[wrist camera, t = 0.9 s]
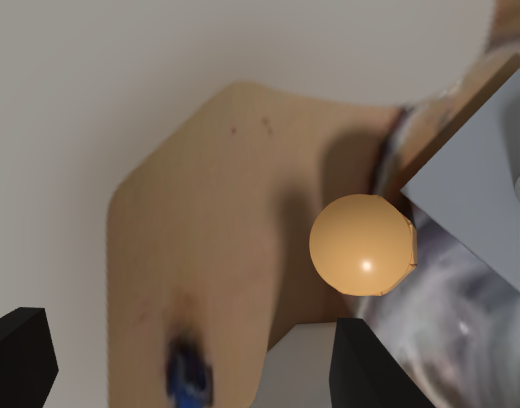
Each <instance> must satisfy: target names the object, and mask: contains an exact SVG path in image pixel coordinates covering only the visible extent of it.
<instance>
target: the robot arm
mask: <svg viewBox="0 0 520 408" xmlns="http://www.w3.org/2000/svg"><path fill="white" fill-rule="evenodd" d="M58 371H59V369H58V365H57V361H56V356H55V352H54V348H53V343H52V339H51V335H50V330H49V326H48V321H47V318H46V313H45V308H29V307H28V308H27V307H19V308H17V309H15V310H14V311H12V312H10V313H8V314H6V315H5V316H3V317H2V318H0V408H42V407H43V405H44V403H45V401H46V399H47V396H48V395H49V392H50V390H51V388H52V385H53V383H54V380H55V378H56V376H57V374H58ZM329 388H330V396H331V404H332V408H436V407H435V406H434V405H433V404H432V403H431V402H430V400H429V399H428V398H427V397H426V396H425V395H424V394H423V392H422V391H421V390H420V389H419V388H418V387H417V386H416V384H415V383H414V382H413V381H412V380H411V379H410V377H409V376H408V375H407V374H406V373H405V372H404V370H403V369H402V368H401V367H400V365H399V364H398V363H397V362H396V361H395V359H394V358H393V357H392V356H391V354H390V353H389V352H388V351H387V349H386V348H385V347H384V346H383V344H382V343H381V342H380V340H379V339H378V338H377V337H376V335H375V334H374V333H373V331H372V330H371V329H370V328H369V326H368V325H367V324H366V322H365V321H364V320H363V319H359V318H337V323H336V330H335V337H334V344H333V351H332V358H331V365H330V372H329Z"/></svg>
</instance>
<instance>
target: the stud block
mask: <svg viewBox="0 0 520 408" xmlns="http://www.w3.org/2000/svg"><path fill="white" fill-rule="evenodd" d="M400 191H401V193H402V194H403V195H404V196H405V197H407V198H408V199H409V200H410V201H411V202H412V203H414V204H415V205H416V206H417V207H418V208H420V209H421V210H422V211H423V212H424V213H426V214H427V215H428V216H429V217H430V218H431V219H433V220H434V221H435V222H436V223H437V224H439V225H440V226H441V227H442V228H443V229H445V230H446V231H447V232H448V233H449V234H450V235H452V236H453V237H454V238H455V239H456V240H458V241H459V242H460V243H461V244H462V245H464V246H465V247H466V248H467V249H468V250H469V251H471V252H472V253H473V254H474V255H475V256H477V257H478V258H479V259H480V260H481V261H483V262H484V263H485V264H486V265H487V266H488V267H490V268H491V269H492V270H493V271H494V272H496V273H497V274H498V275H499V276H500V277H502V278H503V279H504V280H505V281H506V282H508V283H509V284H510V285H511V286H512V287H513V288H515V289H516V290H517V291H518V292H519V293H520V68H519V69H518V70H517V71H516V72H515V73H514V74H513V75H512V76H511V77H510V78H509V79H508V80H507V81H506V82H505V83H504V84H503V85H502V86H501V87H500V88H499V89H498V90H497V91H496V92H495V93H494V94H493V96H492V97H491V98H490V99H489V100H488V101H487V102H486V103H485V104H484V105H483V106H482V107H481V108H480V109H479V110H478V111H477V112H476V113H475V114H474V115H473V116H472V117H471V118H470V119H469V120H468V121H467V122H466V123H465V124H464V125H463V126H462V127H461V128H460V129H459V130H458V131H457V132H456V133H455V135H454V136H453V137H452V138H451V139H450V140H449V141H448V142H447V143H446V144H445V145H444V146H443V147H442V148H441V149H440V150H439V151H438V152H437V153H436V154H435V155H434V156H433V157H432V158H431V159H430V160H429V161H428V162H427V163H426V164H425V165H424V166H423V167H422V168H421V169H420V170H419V171H418V172H417V174H416V175H415V176H414V177H413V178H412V179H411V180H410V181H409V182H408V183H407V184H406V185H405V186H404V187H403V188H402V189H401V190H400Z"/></svg>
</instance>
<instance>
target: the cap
mask: <svg viewBox="0 0 520 408" xmlns="http://www.w3.org/2000/svg"><path fill="white" fill-rule="evenodd" d="M309 246H310V254H311V258H312V261H313V264H314V266H315V268H316V270H317V271H318V273H319V274H320V276H321V277H322V278H323V279H324V280H325V281H326V282H327V283H328V284H329V285H331V286H332V287H334V288H335V289H337V290H338V291H339V292H342V294H351V295H358V296H366V295H377V296H381V295H383V294H386V293H388V292H389V291H391V290H393V289H394V288H395V287H396V286H397V285H398V284H399V283H400V282H401V281H402V280H403V279H404V278H405V277H406V276H407V275H408V274H410V273H411V272H412V271H413V270H414V269H415V268H416V267H417V266H416V265H415V264H418V253H417V231H416V229H415V227H414V226H413V224H412V223H411V222H410V221H409V220H408V219H407V218H406V217H405V216H404V215H402V214H401V213H400V212H399V211H398V210H397V209H396V208H395V207H394V206H392V205H391V204H390V203H389V202H387V201H386V200H385V199H384V198H383V197H382V196H380V197H379V195H366V194H354V195H348V196H344V197H341V198H339V199H337V200H335V201H333V202H332V203H330V204H329V205H328V206H326V207H325V208H324V209H323V210H322V211H321V213H320V214H319V215H318V217H317V218H316V220H315V222H314V224H313V227H312V230H311V234H310V242H309Z"/></svg>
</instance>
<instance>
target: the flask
mask: <svg viewBox="0 0 520 408" xmlns="http://www.w3.org/2000/svg"><path fill="white" fill-rule="evenodd" d="M336 323H337V322H331V323H311V324H296V325H295V326H294V327H293V328H292V329H291V330H290V331H289V332H288V333H287V334H286V335H285V336H284V337H283V338H282V339H281V340H280V341H279V342H278V343H276V344H275V345H274V346H273V347H272V348H271V349H270V350H269V351H268V352H267V353H266V356H265V360H264V365H263V370H262V375H261V379H260V383H259V386H258V390H257V393H256V397H255V399H254V401H253V402H252V404H251V405H250V407H249V408H332V404H331V396H330V388H329V372H330V365H331V358H332V351H333V344H334V337H335V330H336Z"/></svg>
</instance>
